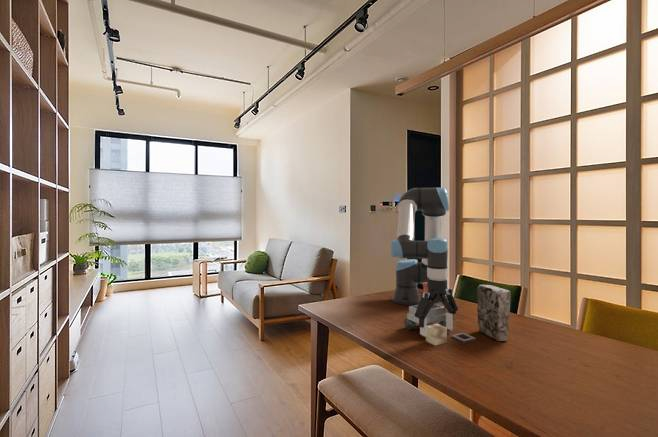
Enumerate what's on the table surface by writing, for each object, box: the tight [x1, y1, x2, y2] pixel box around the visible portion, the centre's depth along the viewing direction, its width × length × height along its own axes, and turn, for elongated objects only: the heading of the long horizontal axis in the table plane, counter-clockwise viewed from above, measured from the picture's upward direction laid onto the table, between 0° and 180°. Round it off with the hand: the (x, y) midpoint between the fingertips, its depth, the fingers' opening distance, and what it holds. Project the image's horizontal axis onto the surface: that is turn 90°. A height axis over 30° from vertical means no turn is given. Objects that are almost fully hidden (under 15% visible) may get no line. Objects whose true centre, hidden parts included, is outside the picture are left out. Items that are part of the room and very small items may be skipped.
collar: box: [450, 332, 477, 344], centre depth 135 cm, size 6×6×1 cm
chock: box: [425, 323, 448, 347], centre depth 132 cm, size 6×5×6 cm
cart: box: [403, 303, 452, 339], centre depth 144 cm, size 14×15×10 cm
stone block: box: [476, 284, 512, 342], centre depth 138 cm, size 13×7×20 cm, turn 19°
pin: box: [422, 282, 431, 301], centre depth 144 cm, size 4×4×13 cm
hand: (436, 332), depth 132 cm, fingers open, 13 cm apart
